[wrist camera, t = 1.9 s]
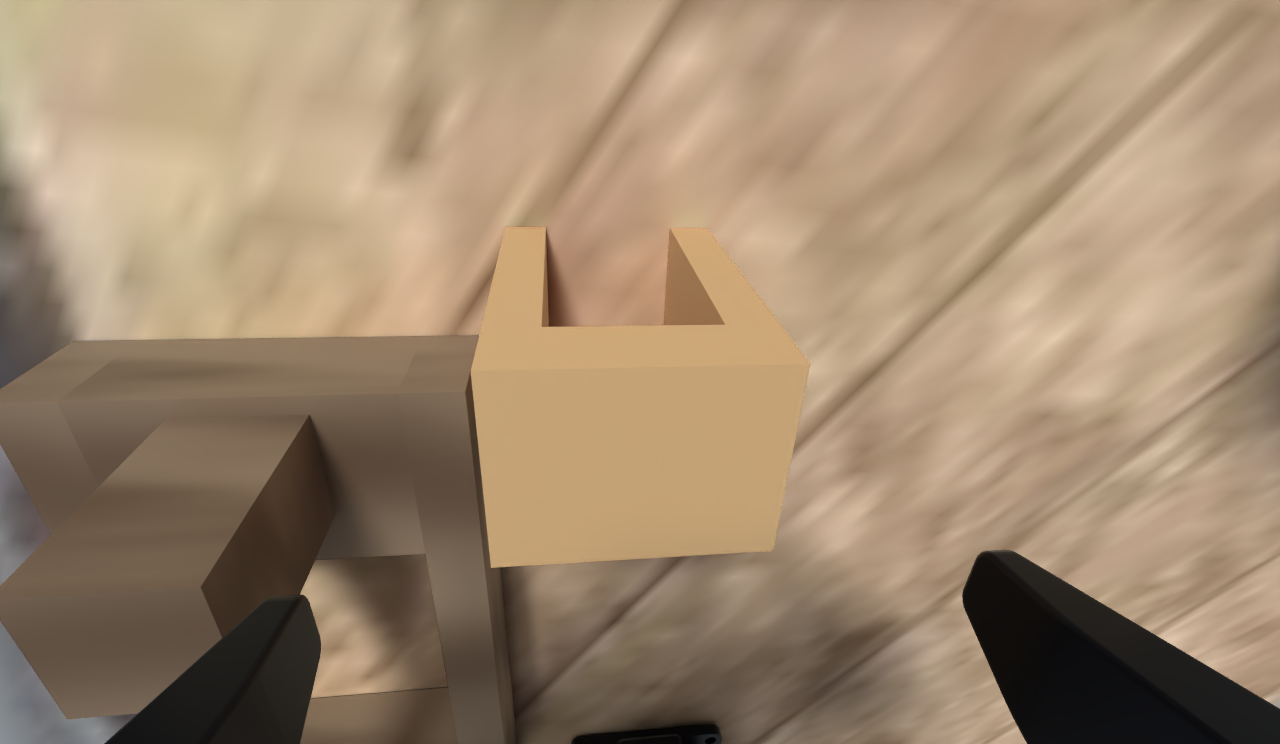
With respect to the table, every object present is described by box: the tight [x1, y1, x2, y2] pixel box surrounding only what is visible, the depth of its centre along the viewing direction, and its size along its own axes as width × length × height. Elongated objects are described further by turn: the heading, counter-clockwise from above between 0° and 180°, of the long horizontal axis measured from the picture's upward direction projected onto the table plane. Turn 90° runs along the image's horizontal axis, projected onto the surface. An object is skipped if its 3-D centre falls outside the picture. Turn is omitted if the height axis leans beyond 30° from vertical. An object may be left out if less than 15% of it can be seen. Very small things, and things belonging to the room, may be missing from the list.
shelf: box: [0, 335, 517, 744], centre depth 18 cm, size 20×10×8 cm, turn 178°
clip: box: [471, 227, 810, 568], centre depth 14 cm, size 4×5×8 cm
